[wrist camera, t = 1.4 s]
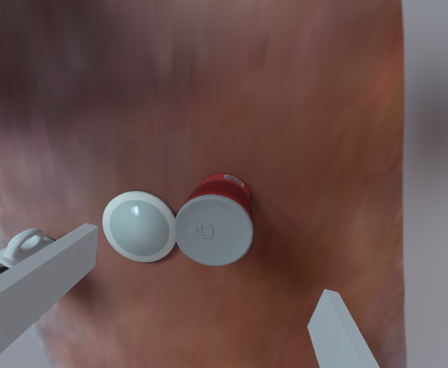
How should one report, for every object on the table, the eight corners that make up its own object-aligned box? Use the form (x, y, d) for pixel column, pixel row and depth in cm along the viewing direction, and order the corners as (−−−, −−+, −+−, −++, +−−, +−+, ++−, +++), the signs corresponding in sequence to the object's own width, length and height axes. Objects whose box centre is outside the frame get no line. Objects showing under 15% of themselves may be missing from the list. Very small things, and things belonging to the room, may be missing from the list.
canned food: (190, 179, 31) (161, 206, 21) (243, 165, 30) (242, 187, 19) (205, 225, 33) (186, 273, 22) (256, 214, 32) (261, 259, 21)
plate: (101, 246, 36) (97, 249, 35) (111, 180, 32) (107, 181, 32) (169, 268, 36) (167, 271, 35) (186, 204, 32) (184, 206, 31)
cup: (33, 208, 35) (-27, 231, 28) (77, 228, 35) (31, 256, 28) (24, 259, 38) (-32, 292, 31) (65, 276, 38) (20, 314, 31)
